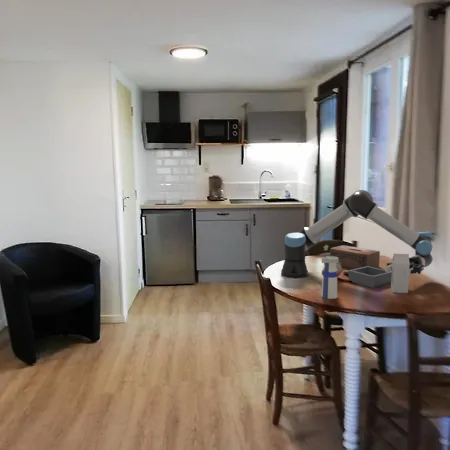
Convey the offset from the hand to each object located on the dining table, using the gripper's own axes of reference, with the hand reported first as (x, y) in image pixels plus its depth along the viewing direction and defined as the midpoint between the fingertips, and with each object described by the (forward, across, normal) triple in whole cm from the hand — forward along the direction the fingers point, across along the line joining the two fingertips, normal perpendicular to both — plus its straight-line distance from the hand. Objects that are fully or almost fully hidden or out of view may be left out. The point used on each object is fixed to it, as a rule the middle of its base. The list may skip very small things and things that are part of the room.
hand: (396, 271), depth 225 cm
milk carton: (-4, 0, -11) cm, 12 cm away
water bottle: (+28, +21, -11) cm, 36 cm away
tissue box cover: (-38, +44, -12) cm, 59 cm away
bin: (-10, +18, -11) cm, 24 cm away
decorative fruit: (-3, +37, -11) cm, 39 cm away
